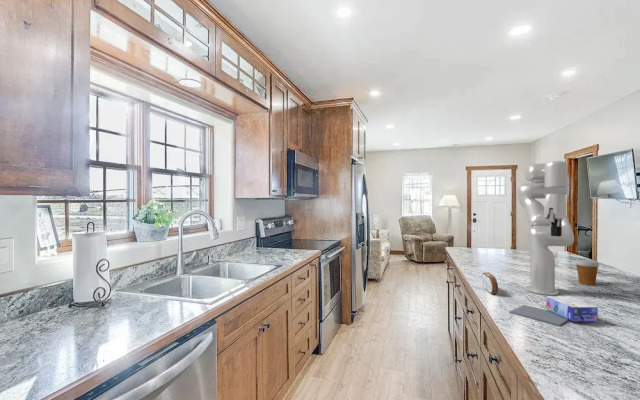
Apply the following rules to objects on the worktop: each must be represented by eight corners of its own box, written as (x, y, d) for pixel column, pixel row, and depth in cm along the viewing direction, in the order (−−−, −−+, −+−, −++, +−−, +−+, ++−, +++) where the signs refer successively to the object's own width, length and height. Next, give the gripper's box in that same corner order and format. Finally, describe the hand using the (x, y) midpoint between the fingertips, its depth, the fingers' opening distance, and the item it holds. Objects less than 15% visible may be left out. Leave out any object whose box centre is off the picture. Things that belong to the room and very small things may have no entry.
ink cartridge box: (545, 310, 121) (577, 324, 106) (545, 296, 121) (577, 308, 106) (569, 310, 121) (605, 324, 107) (569, 296, 121) (604, 308, 107)
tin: (498, 296, 141) (498, 278, 141) (491, 296, 142) (491, 277, 142) (487, 287, 156) (487, 270, 156) (481, 287, 156) (481, 270, 156)
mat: (525, 305, 128) (525, 304, 128) (573, 317, 115) (573, 315, 115) (509, 312, 120) (509, 311, 120) (559, 326, 107) (559, 324, 107)
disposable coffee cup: (571, 281, 167) (570, 259, 167) (590, 281, 165) (590, 259, 165) (583, 286, 157) (583, 262, 157) (604, 286, 156) (604, 262, 156)
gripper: (552, 192, 134) (552, 234, 134) (537, 191, 126) (538, 236, 125) (573, 191, 128) (573, 235, 128) (560, 191, 119) (560, 238, 119)
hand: (556, 236), depth 127 cm, fingers closed
